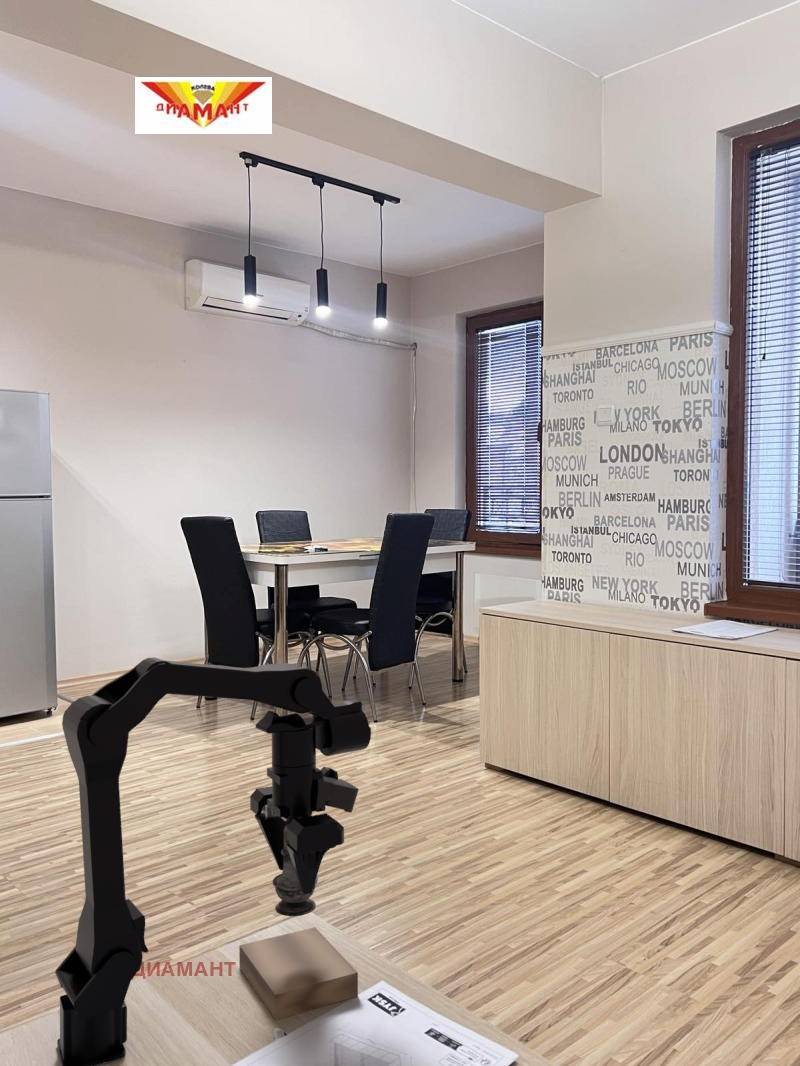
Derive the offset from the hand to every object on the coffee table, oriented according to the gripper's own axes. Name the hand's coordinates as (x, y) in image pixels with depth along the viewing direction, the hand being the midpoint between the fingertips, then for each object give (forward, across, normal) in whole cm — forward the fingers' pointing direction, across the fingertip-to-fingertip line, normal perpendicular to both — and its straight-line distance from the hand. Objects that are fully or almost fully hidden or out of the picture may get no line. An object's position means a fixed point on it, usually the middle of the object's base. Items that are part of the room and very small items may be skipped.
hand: (295, 880), depth 111 cm
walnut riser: (+13, 0, 0) cm, 13 cm away
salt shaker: (+4, 0, 0) cm, 4 cm away
